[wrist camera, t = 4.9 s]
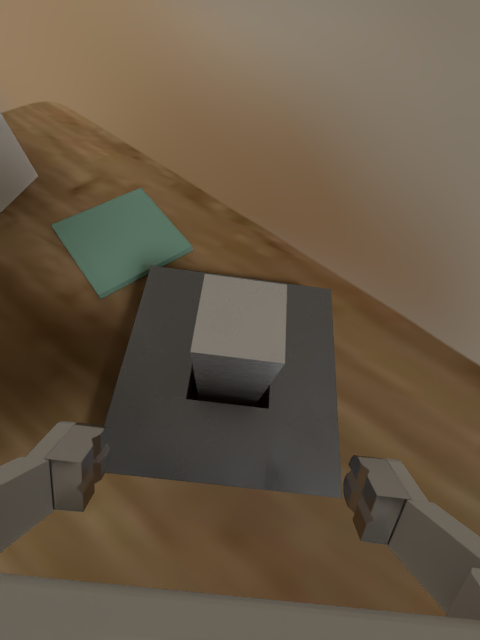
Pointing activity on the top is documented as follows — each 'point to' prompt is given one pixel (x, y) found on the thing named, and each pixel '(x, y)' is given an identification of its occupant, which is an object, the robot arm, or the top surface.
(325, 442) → the socket block
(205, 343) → the steel bar
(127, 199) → the rubber mat
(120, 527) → the top surface
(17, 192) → the plain white cube
